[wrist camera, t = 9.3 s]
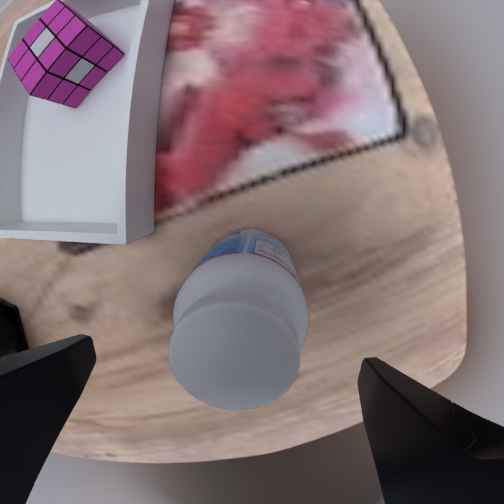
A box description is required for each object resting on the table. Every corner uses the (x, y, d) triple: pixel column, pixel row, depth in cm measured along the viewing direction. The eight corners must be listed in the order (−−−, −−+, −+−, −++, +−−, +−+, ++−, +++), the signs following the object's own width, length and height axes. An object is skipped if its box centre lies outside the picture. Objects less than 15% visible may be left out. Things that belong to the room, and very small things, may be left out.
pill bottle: (209, 310, 21) (162, 417, 10) (204, 227, 20) (135, 279, 9) (292, 311, 21) (311, 424, 10) (295, 226, 20) (328, 281, 9)
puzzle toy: (76, 109, 18) (29, 96, 12) (49, 74, 17) (6, 59, 11) (126, 54, 17) (88, 24, 11) (93, 24, 16) (57, -3, 10)
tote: (154, 231, 20) (126, 244, 16) (21, 227, 21) (-12, 236, 16) (175, -4, 16) (158, -34, 11) (42, 34, 16) (15, 21, 12)
